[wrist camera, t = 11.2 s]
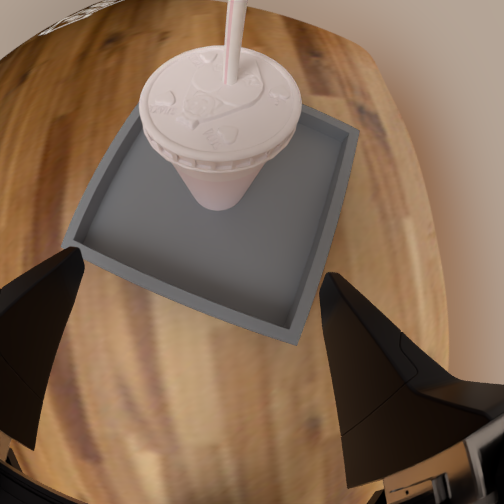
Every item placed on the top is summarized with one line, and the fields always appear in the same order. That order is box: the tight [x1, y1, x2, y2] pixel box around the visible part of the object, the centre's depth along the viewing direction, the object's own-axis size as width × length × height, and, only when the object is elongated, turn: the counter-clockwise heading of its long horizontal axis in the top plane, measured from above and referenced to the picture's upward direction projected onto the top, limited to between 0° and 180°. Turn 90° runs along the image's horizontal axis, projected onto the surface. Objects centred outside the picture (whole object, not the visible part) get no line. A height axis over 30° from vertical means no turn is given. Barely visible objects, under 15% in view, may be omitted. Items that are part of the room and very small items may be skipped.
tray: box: [61, 103, 360, 346], centre depth 18 cm, size 17×17×2 cm
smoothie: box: [139, 0, 302, 211], centre depth 12 cm, size 6×6×14 cm
